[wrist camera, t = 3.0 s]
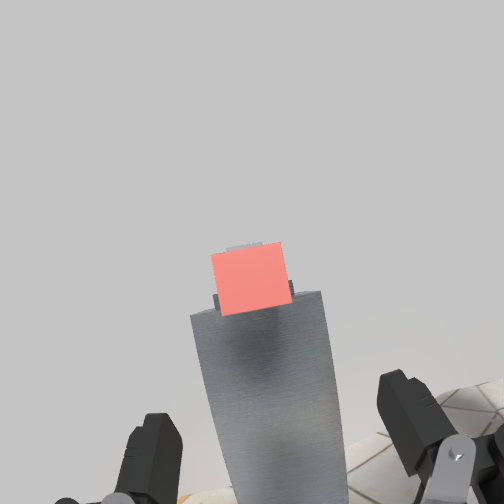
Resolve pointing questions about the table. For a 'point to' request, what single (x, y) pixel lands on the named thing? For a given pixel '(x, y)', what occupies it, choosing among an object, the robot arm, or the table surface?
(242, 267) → the lever
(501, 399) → the table surface
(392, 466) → the table surface
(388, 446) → the table surface
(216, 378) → the box
